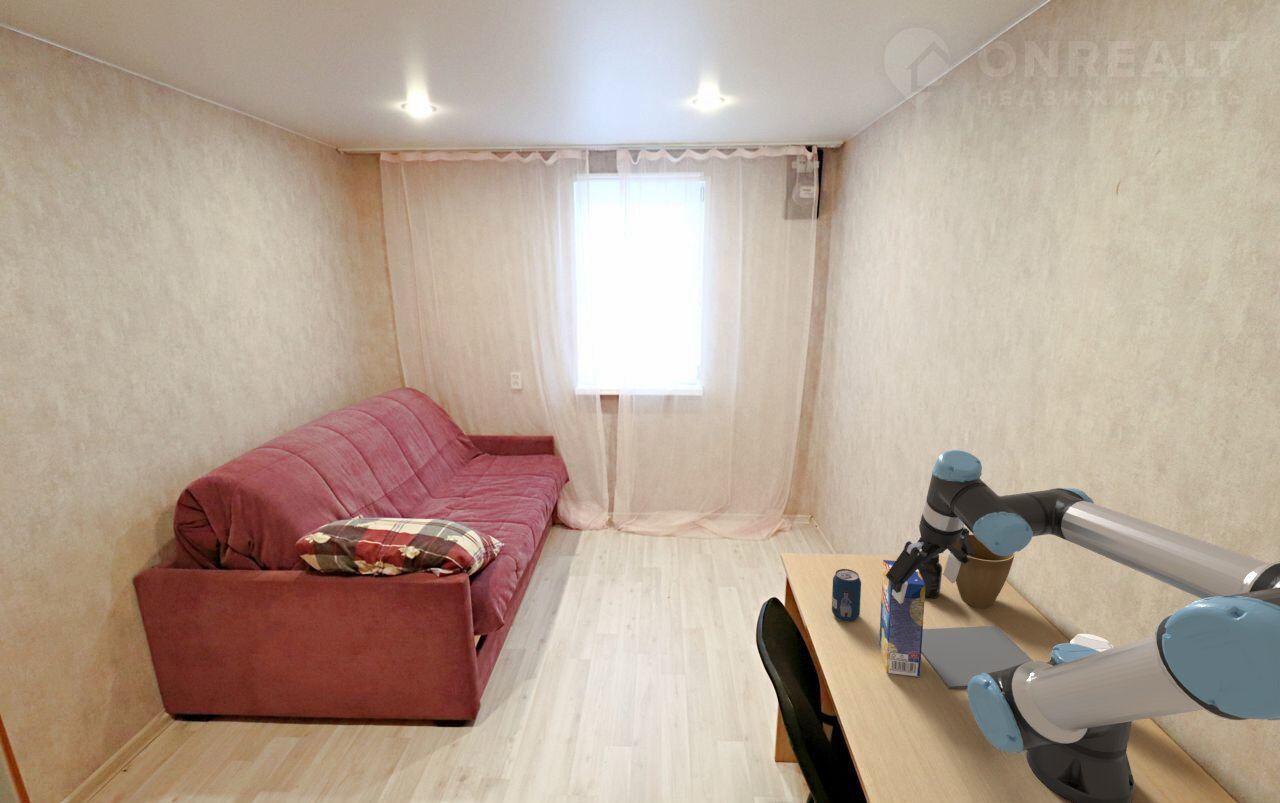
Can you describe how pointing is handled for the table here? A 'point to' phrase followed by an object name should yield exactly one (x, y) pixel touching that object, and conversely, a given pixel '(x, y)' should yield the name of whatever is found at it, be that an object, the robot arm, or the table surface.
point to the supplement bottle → (931, 576)
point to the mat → (969, 653)
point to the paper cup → (1092, 642)
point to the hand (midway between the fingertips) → (923, 588)
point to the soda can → (846, 595)
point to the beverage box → (902, 625)
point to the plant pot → (982, 575)
